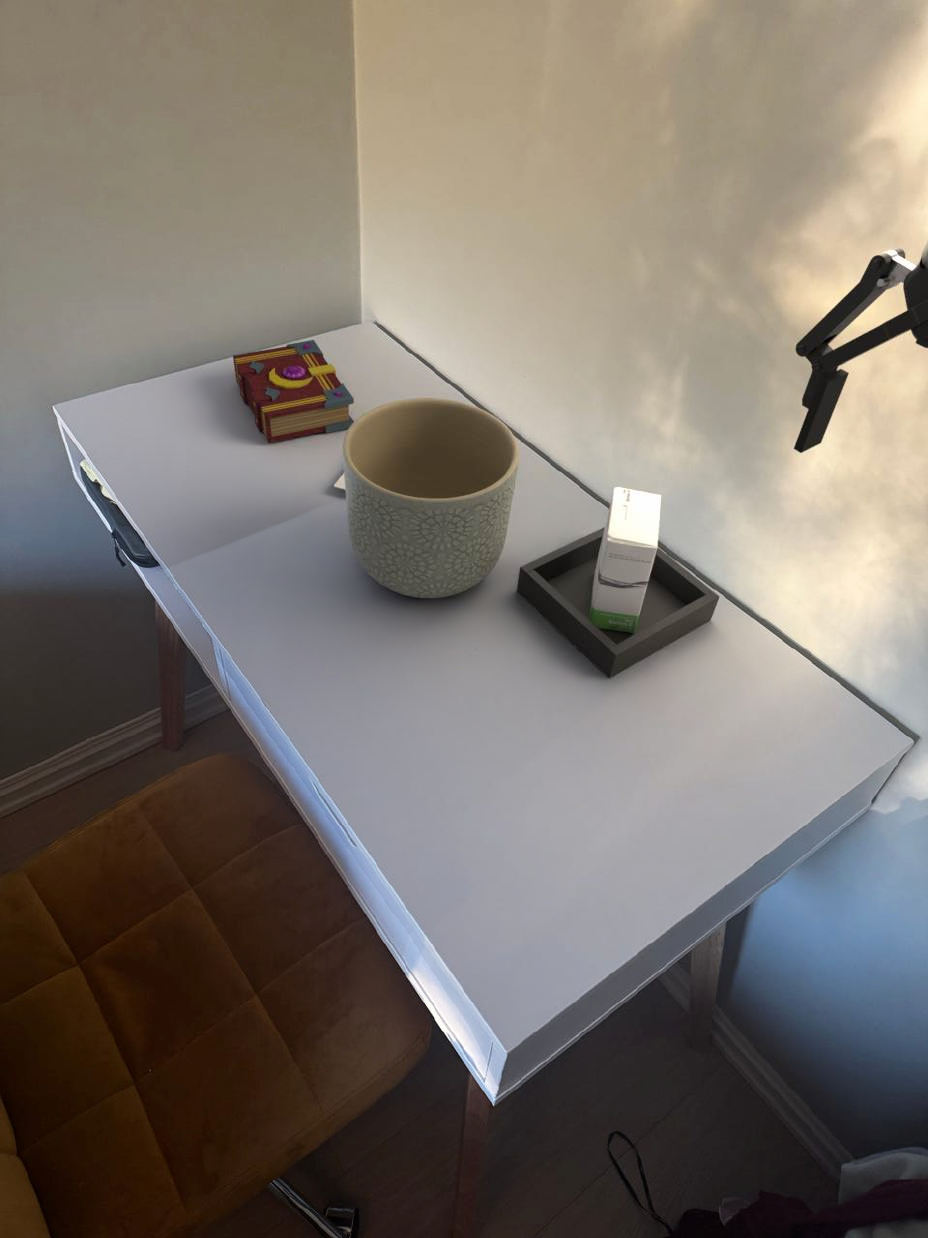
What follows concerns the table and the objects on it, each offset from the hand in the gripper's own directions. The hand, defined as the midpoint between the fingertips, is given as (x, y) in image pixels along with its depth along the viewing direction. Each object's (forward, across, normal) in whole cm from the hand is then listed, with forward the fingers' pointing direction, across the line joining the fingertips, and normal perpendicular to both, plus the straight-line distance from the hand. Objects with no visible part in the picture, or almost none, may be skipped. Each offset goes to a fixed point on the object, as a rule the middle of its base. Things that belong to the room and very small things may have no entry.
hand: (877, 488), depth 71 cm
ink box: (+24, -18, -6) cm, 30 cm away
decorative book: (+23, -68, -15) cm, 74 cm away
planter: (+24, -34, -19) cm, 45 cm away
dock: (+24, -18, -6) cm, 30 cm away
